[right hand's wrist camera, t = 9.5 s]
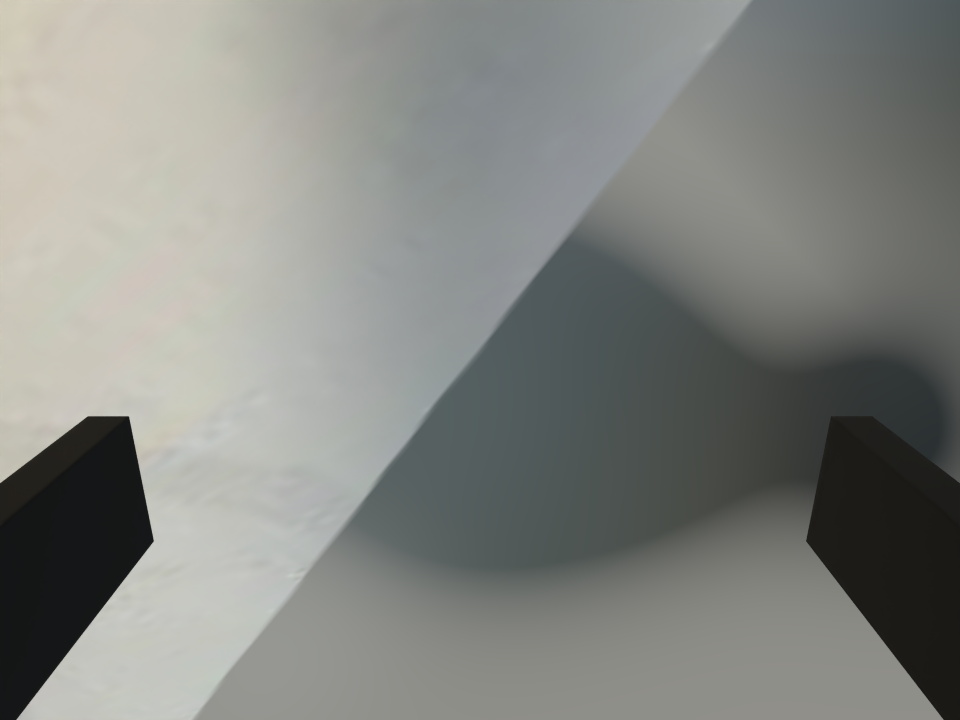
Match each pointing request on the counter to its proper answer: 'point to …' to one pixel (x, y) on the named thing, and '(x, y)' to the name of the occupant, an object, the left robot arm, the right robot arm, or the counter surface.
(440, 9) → the counter surface
